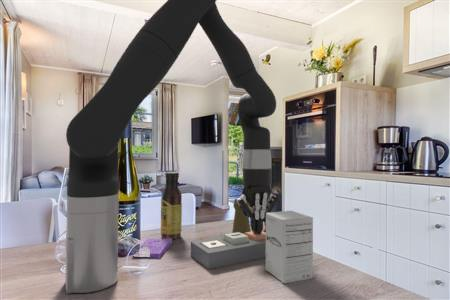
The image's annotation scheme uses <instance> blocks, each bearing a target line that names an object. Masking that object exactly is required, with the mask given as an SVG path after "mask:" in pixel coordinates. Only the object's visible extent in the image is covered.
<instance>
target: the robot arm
mask: <svg viewBox="0 0 450 300" xmlns="http://www.w3.org/2000/svg"><path fill="white" fill-rule="evenodd" d="M216 2H217V0H167V1H165V3H163V4H162V5H161V6H160V8H158V9H157V10H156V11H155V12H154V14H152V16H151V17H150V18H149V19H148V20H147V21H146V22H145V23H144V24H143V26H142V27H141V28H140V29H139V31H138V32H137V33H136V35H135V36H134V37H133V39H132V40H131V41H130V42H129V44H128V46H127V47H126V49H125V50H124V51H123V53H122V55H121V56H120V58H119V59H118V61H117V62H116V64H115V66H114V67H113V69H112V71H111V73H110V75H109V76H108V78H107V79H106V81H105V82H104V83H103V85H102V86H101V87H100V89H99V90H98V91H97V92H96V93H95V95H94V96H93V97H92V98H91V99H90V100H89V101H88V102H87V103H86V104H85V105H84V107H82V108H81V109H80V110H79V112H78V113H77V114H76V115H75V116H74V117H73V118H72V119H71V120H70V122H69V123H68V125H67V128H66V133H65V136H66V137H65V138H66V143H67V145H68V147H69V155H68V156H69V158H68V162H69V163H68V164H69V165H68V176H67V181H66V182H67V183H66V232H65V233H66V234H65V276H64V277H65V282H64V283H65V294H72V293H74V294H75V293H76V294H77V293H78V294H84V293H86V294H87V293H92V292H93V293H94V292H99V291H101V290H105V289H107V288H109V287H111V286H113V285H114V284H116V282H117V281H118V276H119V275H118V273H119V266H118V265H119V262H118V261H119V260H118V259H119V191H120V190H119V185H120V183H119V182H120V181H119V143H120V140H121V138H122V136H123V134H124V132H125V130H126V128H127V127H128V125H129V123H130V121H131V119H132V118H133V116H134V115H135V114H134V113H135V112H136V111H137V109H138V108H139V106H140V105H141V104H142V102H143V101H144V100H145V99H146V98H147V97H148V96H149V95H150V94H151V93H152V92H153V91H154V90H155V88H156V87H157V86H158V85H159V84H160V82H161V83H162V80H163V79H164V78H165V77H166V76H167V75H168V73H169V71H170V70H171V68H172V67H173V65H175V62H176V61H177V60H178V58H179V56H180V55H181V53H182V51H183V49H184V48H185V47H186V44H187V43H188V41H189V39H190V38H191V36H192V35H193V33H194V31H195V30H196V28H197V26H198V24H199V26H200V27H201V30H203V32H204V34H205V35H206V37H207V38H208V39H209V41H210V43H211V45H212V46H213V48H214V50H215V51H216V53H217V55H218V57H219V59H220V61H221V64H222V65H223V67H224V70H225V72H226V74H227V76H228V78H229V80H230V82H231V83H232V85H233V87H234V88H236V89H242V90H244V91H245V92H246V93H244V94H243V95H242V96H241V97H240V98H239V100H238V104H237V114H238V118H239V123H240V126H241V131H242V134H243V153H242V186H243V189H242V191H241V192H242V194H241V195H240V196H239V198H237V197H236V198H235V199H234V201H235V203H236V204H237V205H238V207H239V208H240V210H241V211H242V212H243V214H244V215H245V216H247V217H249V219H250V230H251V231H253V233H255V234H259V233H262V232H264V231H263V230H264V219H265V218H266V213H270V212H273V209H274V207H275V206H276V204H277V202H278V200H279V197H278V196H277V195H274V194H273V193H272V189H271V184H272V153H271V132H270V129H268V127H265V126H261V125H260V121H259V119H261V118H267V117H271V116H272V115H273V114H274V113H275V112H276V109H277V99H276V96H275V94H274V92H273V90H272V89H271V88H270V86H269V85H268V84H267V83H266V81H265V79H264V78H263V76H261V75H260V74H259V72H258V71H257V69H256V66H255V63H254V62H253V59H252V57H251V55H250V52H249V51H248V48H247V47H246V46H245V44H244V43H243V41H242V39H240V38H239V37H238V35H237V34H236V33H234V31H233V30H232V29H231V27H229V26H228V24H227V23H226V22H225V20H224V19H223V17H222V15H221V13H220V11H219V9H218V6H217V3H216ZM246 201H247V202H248V206H247V205H246V203H247V202H246Z"/></svg>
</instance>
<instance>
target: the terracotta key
mask: <svg viewBox="0 0 450 300" xmlns="http://www.w3.org/2000/svg"><path fill="white" fill-rule="evenodd" d="M245 235H247V236H248V239H250V240H253V241H259V240H265V239H266V232H264V231H262V233H259V234H255V233H253V231H252V230H251V232H245Z"/></svg>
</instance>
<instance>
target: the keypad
mask: <svg viewBox="0 0 450 300" xmlns="http://www.w3.org/2000/svg"><path fill="white" fill-rule="evenodd" d="M243 234H244V235H245V233H243ZM216 240H218V241H220V242H221V243H223V244H225V245H226V246H225V247H219V248H213V249H207V248H206V247H204V246H203V245H201V243H203V242H209V241H216ZM190 257H192V258H193V259H194V260H196V261H197V262H198V263H200V264H201V265H202V266H203V267H204V268H206V269H207V270H212V269H216V268H221V267H227V266H231V265H234V264H240V263H244V262H249V261H254V260H259V259H263V258H266V239H265V240H259V241H253V240H250V239H248V243H242V244H236V245H231V244H229V243H227V242H226V241H224V235H223V236H218V237H211V238H204V239H199V240H192V241H190Z"/></svg>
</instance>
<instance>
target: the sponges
mask: <svg viewBox="0 0 450 300" xmlns="http://www.w3.org/2000/svg"><path fill="white" fill-rule="evenodd" d="M172 240H173V239H172V238H168V239H167V238H166V239H165V238H162V237H161V238H151V237H149V238H147V239H146V240H145V241H144V242H143V243H142V244H140V245H141V246H140V245H139V246H140V248H141V249H142V248H143V247H148V248H149V249H150V257H151V258H150V259H161V257H162V256H164V254H165V252H166V251H167V250H168V248H170V246H171V245H172V243H173V241H172ZM136 253H139V252H136Z"/></svg>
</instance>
